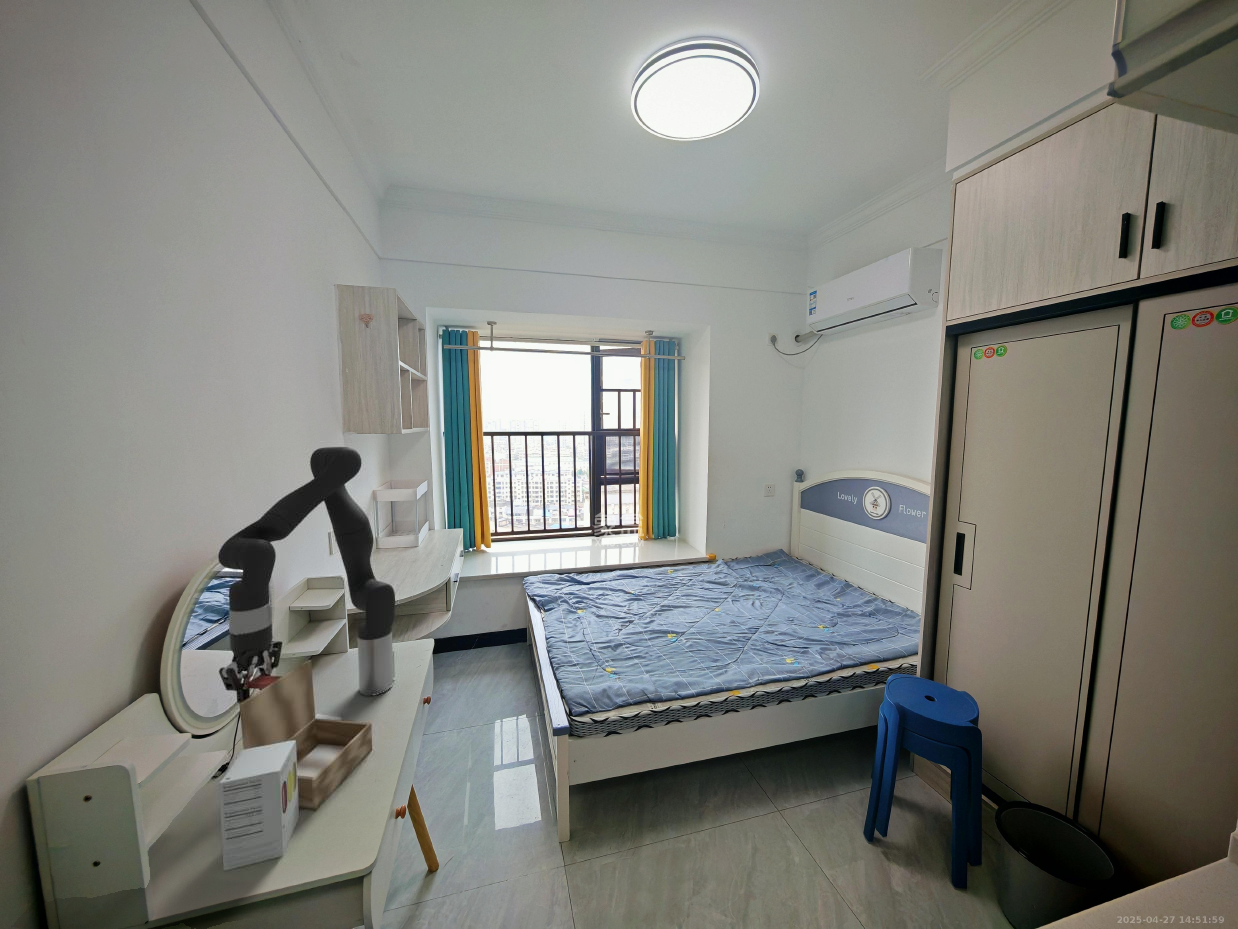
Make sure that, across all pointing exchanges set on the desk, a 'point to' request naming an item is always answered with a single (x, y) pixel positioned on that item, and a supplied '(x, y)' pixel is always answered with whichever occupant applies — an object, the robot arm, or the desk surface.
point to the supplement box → (259, 804)
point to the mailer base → (337, 764)
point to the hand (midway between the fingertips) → (254, 696)
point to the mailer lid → (278, 707)
